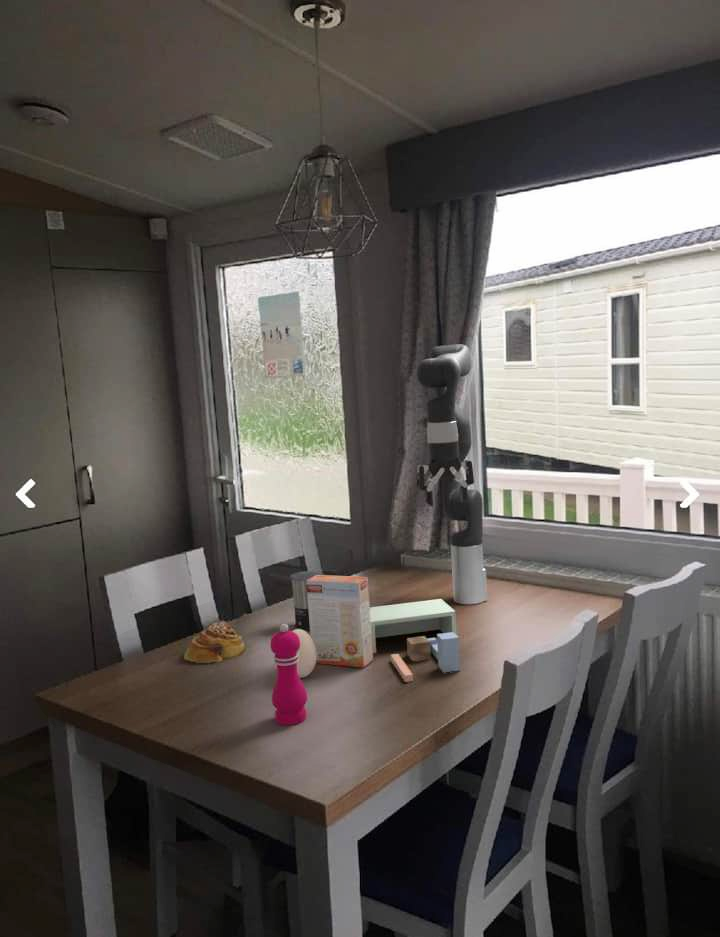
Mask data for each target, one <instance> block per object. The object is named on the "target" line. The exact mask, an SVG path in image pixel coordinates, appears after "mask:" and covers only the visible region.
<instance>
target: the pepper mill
mask: <svg viewBox="0 0 720 937" xmlns="http://www.w3.org/2000/svg"><path fill="white" fill-rule="evenodd" d="M292 631H293V630H289V626H288V624H287V623H282V624H281V625H280V626H279V631H278V632H276V633H275V634H274V635H272V637H271V639H270V650H271V652H272V653H273V654H274V656H273V659H274V660H273V662H274V664H275V665H276V667H277V668H276V669H277V677H276V680H275V684H274V685H273V689H272V693H271V704H272V706H273V707H274V708H275V709H276V710H275V711H274V714H275V722H276V723H278V724H279V725H283V726H294V725H298V724H300V723H302V722H304V721H305V720H306V718H307V710H306V707H305V705H306V703H307V702H308V694H307V690H306V688H305V686H304V683H303V682H302V680H301V678H299V676H298V673H297V662H298V661H299V658H298V656H299V654H298V653H297V651H298V650H299V648H300V639H299V637H298V635H297V634H296V633H294V632H292Z"/></svg>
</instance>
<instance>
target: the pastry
mask: <svg viewBox="0 0 720 937" xmlns="http://www.w3.org/2000/svg"><path fill="white" fill-rule="evenodd" d="M245 651H246V645H245V644H244V641H243V637H242V635H238V634H237V633H236V631H235V630H234V629H233V628H232V625H230V624H229V623H228V622H226V620H225V621H224V620H221V621H219V622H214V623H212V624H211V625H210V626H208V627H207V628H206V629H204V630H202V631H201V632H200V633H198V634H196V636H195V637H193V639H192V640H191V641H190V644H189V646H188V647H187V649H186V651H185V652H184V656H183V660H184V659H185V660H184V661H186V660H188V661H191V662H190V663H192V662H197V663H196V664H198V663H207V664H211V663H210V662H218V663H220V662H219V661H221V662H222V661H224V660H229V659H233V658H237V657H239V656H241V655H242V654H244V653H243V652H245ZM236 656H237V657H236ZM228 658H229V659H228ZM223 659H224V660H223ZM188 661H187V662H188ZM208 662H209V663H208Z"/></svg>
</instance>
